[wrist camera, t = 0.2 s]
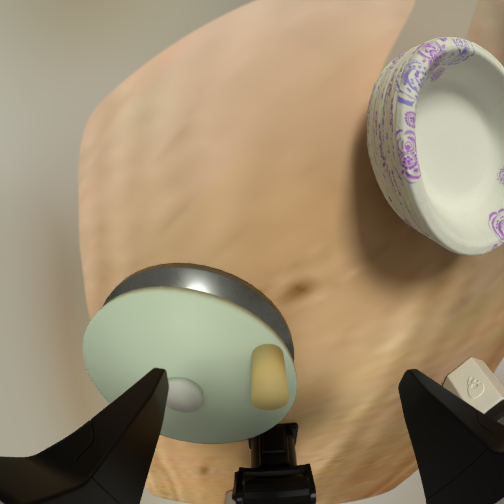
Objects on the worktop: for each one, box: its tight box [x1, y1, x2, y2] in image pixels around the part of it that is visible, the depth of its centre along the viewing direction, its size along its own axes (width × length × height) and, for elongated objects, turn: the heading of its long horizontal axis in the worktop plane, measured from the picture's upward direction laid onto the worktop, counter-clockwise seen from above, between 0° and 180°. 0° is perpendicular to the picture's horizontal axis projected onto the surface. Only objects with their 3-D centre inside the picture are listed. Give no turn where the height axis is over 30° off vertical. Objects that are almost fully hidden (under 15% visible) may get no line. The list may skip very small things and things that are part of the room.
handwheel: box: [83, 286, 297, 444], centre depth 20 cm, size 20×20×6 cm
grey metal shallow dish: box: [103, 263, 294, 363], centre depth 24 cm, size 20×20×4 cm
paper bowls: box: [367, 37, 504, 256], centre depth 15 cm, size 15×15×8 cm
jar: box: [443, 357, 504, 425], centre depth 24 cm, size 9×8×12 cm
